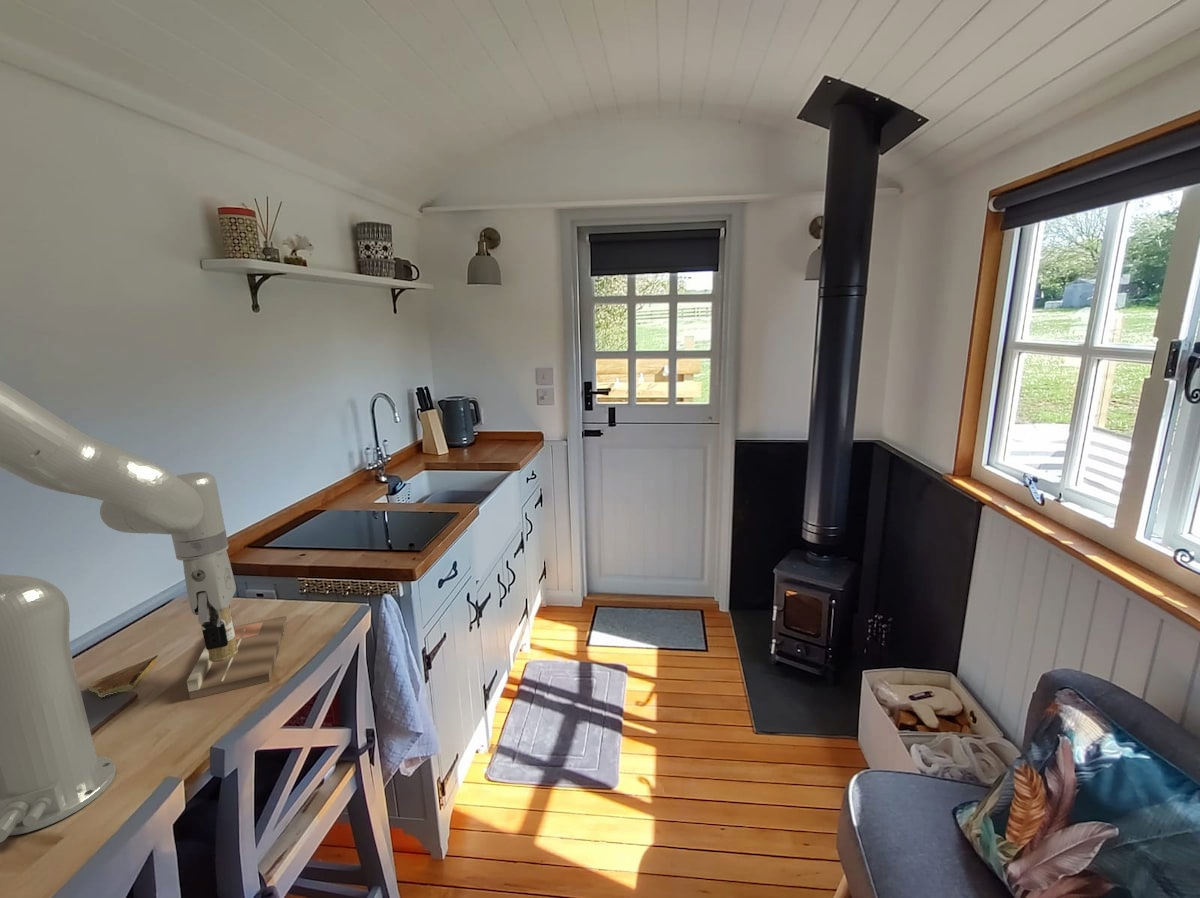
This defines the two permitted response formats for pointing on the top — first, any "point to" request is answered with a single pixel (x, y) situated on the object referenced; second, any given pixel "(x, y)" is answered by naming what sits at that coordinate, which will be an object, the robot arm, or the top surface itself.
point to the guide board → (240, 660)
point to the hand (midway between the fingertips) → (220, 639)
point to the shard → (122, 678)
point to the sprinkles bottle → (231, 647)
